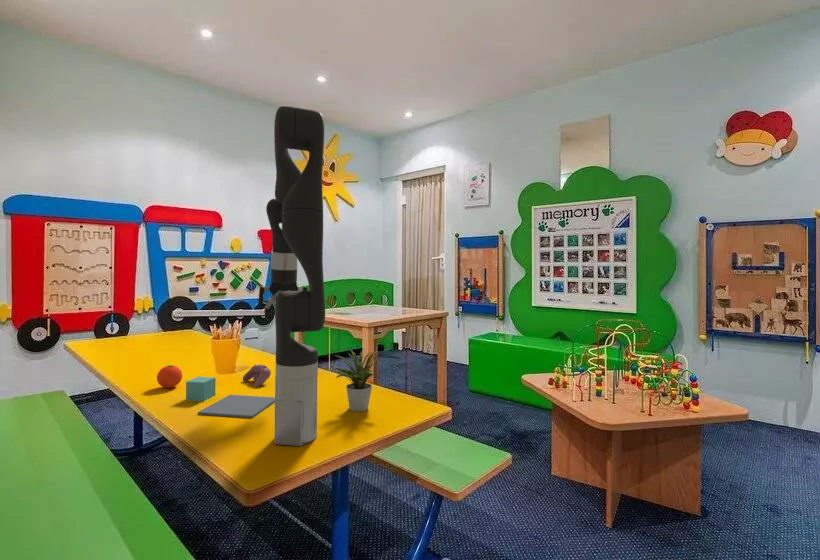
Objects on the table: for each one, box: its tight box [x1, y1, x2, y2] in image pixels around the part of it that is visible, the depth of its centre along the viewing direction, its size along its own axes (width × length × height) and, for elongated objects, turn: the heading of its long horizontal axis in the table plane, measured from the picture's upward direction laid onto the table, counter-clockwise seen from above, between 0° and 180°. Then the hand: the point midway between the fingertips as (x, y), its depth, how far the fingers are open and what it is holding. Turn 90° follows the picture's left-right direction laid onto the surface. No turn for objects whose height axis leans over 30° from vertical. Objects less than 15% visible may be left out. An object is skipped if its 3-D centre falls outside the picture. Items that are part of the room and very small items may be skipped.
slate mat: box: [197, 394, 275, 419], centre depth 114 cm, size 15×15×1 cm
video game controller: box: [242, 363, 272, 388], centre depth 138 cm, size 10×5×7 cm, turn 47°
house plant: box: [331, 350, 381, 412], centre depth 116 cm, size 14×14×16 cm
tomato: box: [156, 364, 183, 389], centre depth 131 cm, size 8×7×7 cm
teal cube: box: [185, 376, 217, 402], centre depth 121 cm, size 6×6×6 cm
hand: (283, 319), depth 127 cm, fingers open, 8 cm apart
